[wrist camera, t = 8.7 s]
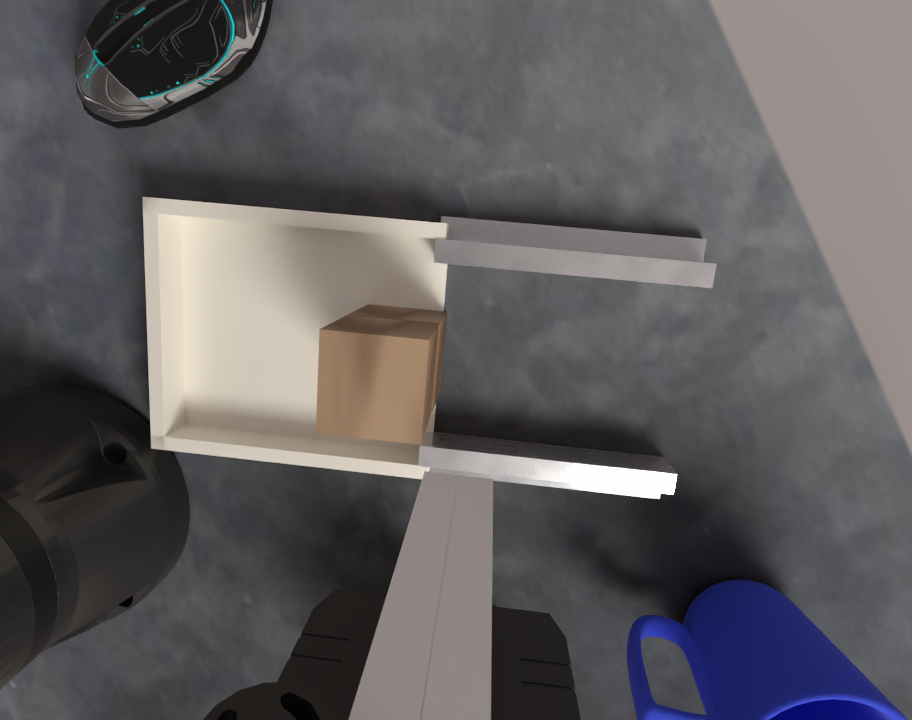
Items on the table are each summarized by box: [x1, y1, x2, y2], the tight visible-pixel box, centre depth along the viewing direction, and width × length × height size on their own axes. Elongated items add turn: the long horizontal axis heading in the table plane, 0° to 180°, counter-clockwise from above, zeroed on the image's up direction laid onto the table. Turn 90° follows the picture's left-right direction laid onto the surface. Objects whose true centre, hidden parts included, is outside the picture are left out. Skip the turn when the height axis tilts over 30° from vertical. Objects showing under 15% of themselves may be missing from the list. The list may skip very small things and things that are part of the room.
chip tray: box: [142, 197, 450, 479], centre depth 31 cm, size 16×14×2 cm
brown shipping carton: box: [316, 315, 439, 445], centre depth 25 cm, size 4×4×4 cm
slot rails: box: [418, 216, 717, 499], centre depth 30 cm, size 14×15×2 cm
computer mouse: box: [75, 0, 273, 128], centre depth 27 cm, size 6×12×4 cm, turn 125°
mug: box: [627, 580, 908, 720], centre depth 29 cm, size 8×12×10 cm
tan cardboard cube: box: [348, 304, 447, 412], centre depth 29 cm, size 4×4×4 cm
